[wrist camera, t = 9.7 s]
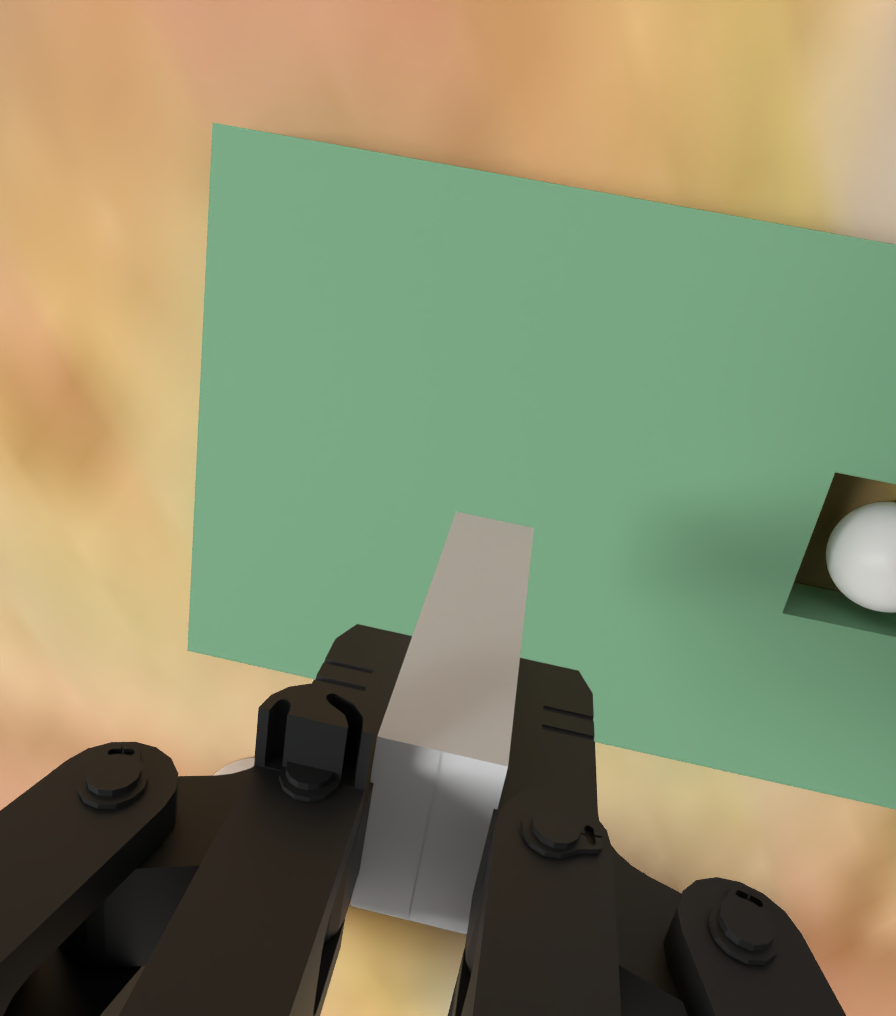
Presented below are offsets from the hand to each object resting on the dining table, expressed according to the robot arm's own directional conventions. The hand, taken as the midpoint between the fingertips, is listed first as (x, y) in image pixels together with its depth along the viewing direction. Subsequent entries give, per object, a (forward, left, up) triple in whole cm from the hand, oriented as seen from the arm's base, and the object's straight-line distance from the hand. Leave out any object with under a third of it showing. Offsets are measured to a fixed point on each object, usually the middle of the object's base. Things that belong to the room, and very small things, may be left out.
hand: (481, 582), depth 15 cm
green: (+1, +4, -10) cm, 11 cm away
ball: (+1, +11, -9) cm, 14 cm away
